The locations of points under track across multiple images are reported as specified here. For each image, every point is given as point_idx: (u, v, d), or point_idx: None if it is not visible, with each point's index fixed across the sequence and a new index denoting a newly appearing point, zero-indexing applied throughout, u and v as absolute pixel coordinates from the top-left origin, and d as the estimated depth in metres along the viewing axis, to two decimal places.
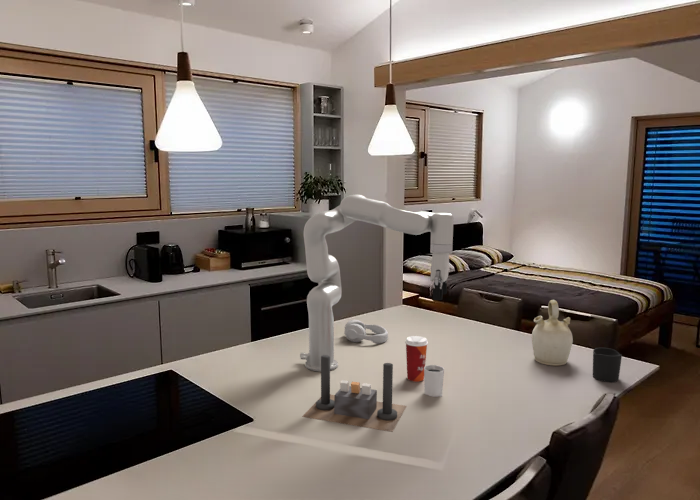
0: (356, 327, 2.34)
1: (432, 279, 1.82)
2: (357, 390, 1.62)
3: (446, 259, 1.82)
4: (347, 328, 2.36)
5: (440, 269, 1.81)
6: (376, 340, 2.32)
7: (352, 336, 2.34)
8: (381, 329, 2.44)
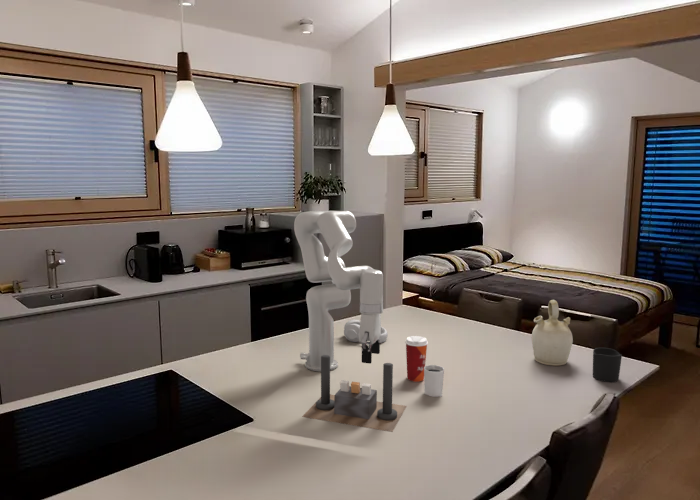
0: (355, 327, 2.34)
1: (361, 341, 1.71)
2: (357, 390, 1.62)
3: (375, 320, 1.71)
4: (346, 328, 2.36)
5: (368, 331, 1.70)
6: None
7: (351, 335, 2.34)
8: None
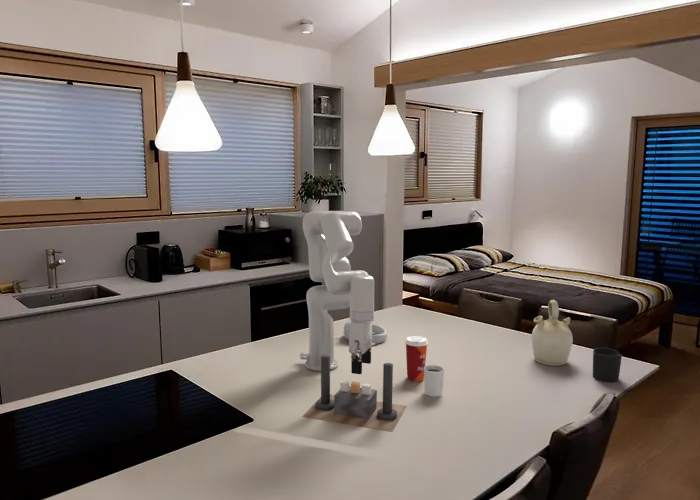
0: None
1: (350, 350, 1.62)
2: (357, 390, 1.62)
3: (366, 328, 1.62)
4: (346, 328, 2.36)
5: (359, 340, 1.60)
6: (375, 340, 2.32)
7: None
8: (380, 329, 2.44)
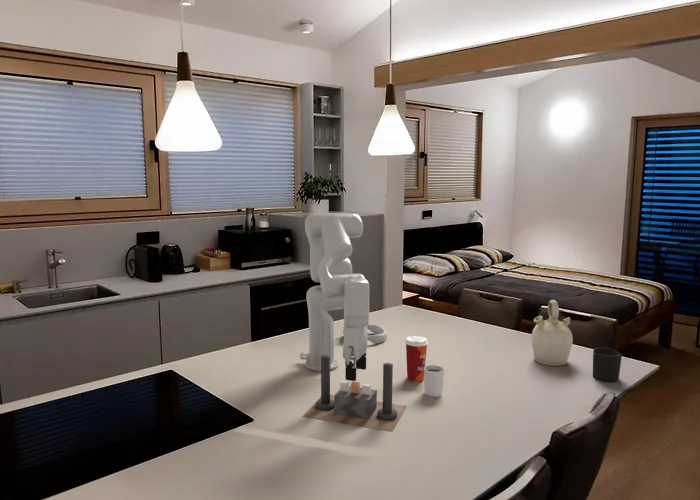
0: None
1: (344, 356, 1.57)
2: (357, 390, 1.62)
3: (360, 333, 1.57)
4: None
5: (353, 345, 1.56)
6: (375, 340, 2.32)
7: None
8: (380, 329, 2.44)
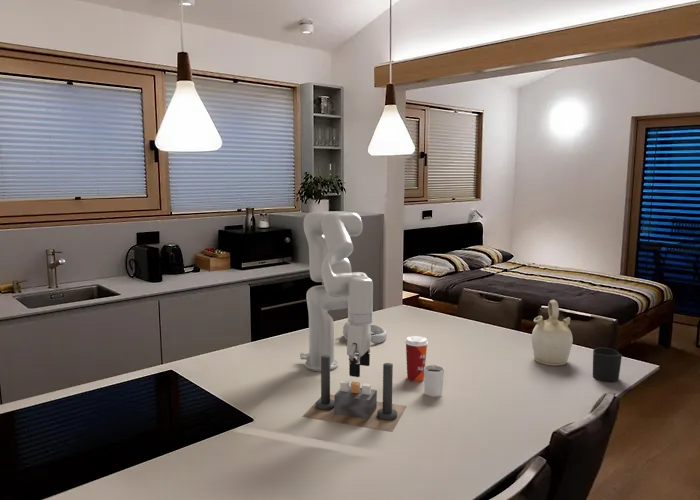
0: None
1: (348, 353, 1.61)
2: (357, 390, 1.62)
3: (364, 330, 1.60)
4: (346, 328, 2.36)
5: (357, 342, 1.59)
6: (374, 340, 2.32)
7: None
8: (380, 329, 2.44)
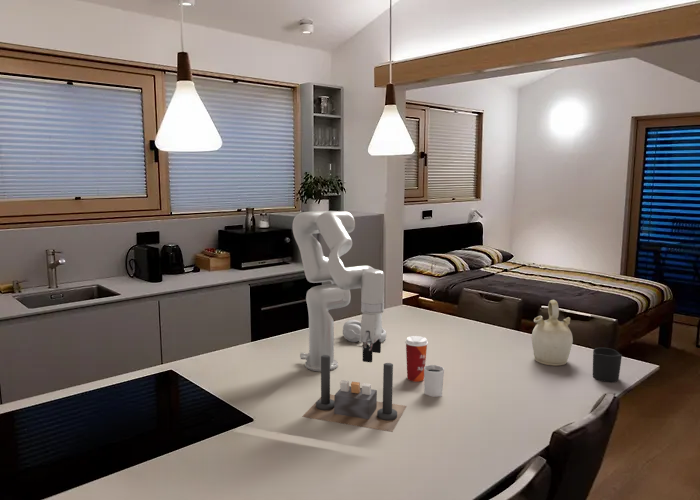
0: (354, 327, 2.34)
1: (362, 340, 1.73)
2: (357, 390, 1.62)
3: (376, 319, 1.73)
4: (345, 328, 2.36)
5: (369, 330, 1.71)
6: None
7: (350, 335, 2.34)
8: None
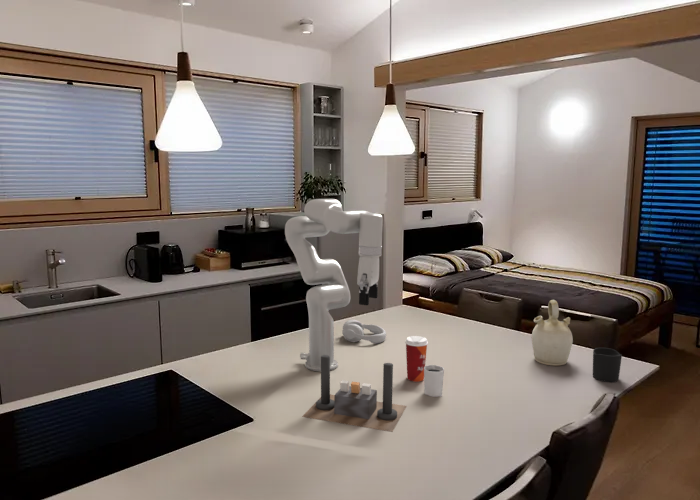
0: (354, 327, 2.34)
1: (358, 283, 1.73)
2: (357, 390, 1.62)
3: (374, 262, 1.73)
4: (345, 328, 2.36)
5: (366, 273, 1.72)
6: (374, 340, 2.32)
7: (350, 335, 2.34)
8: (379, 329, 2.44)
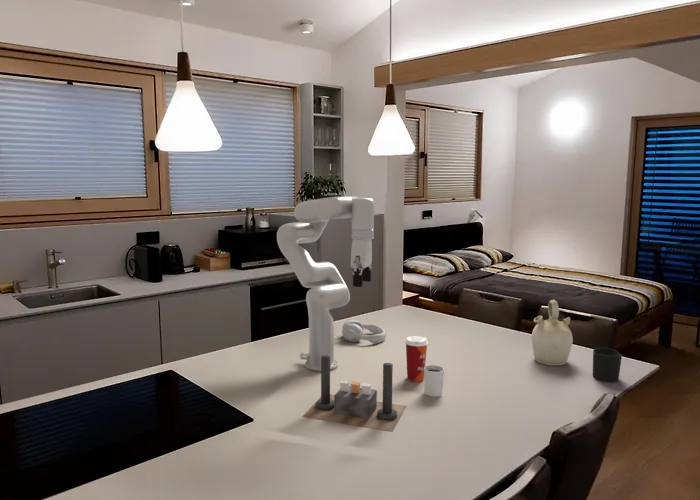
0: (354, 327, 2.34)
1: (352, 265, 1.78)
2: (357, 390, 1.62)
3: (366, 245, 1.78)
4: (345, 328, 2.36)
5: (359, 255, 1.77)
6: (374, 340, 2.32)
7: (350, 335, 2.34)
8: (379, 329, 2.44)
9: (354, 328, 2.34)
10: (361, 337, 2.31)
